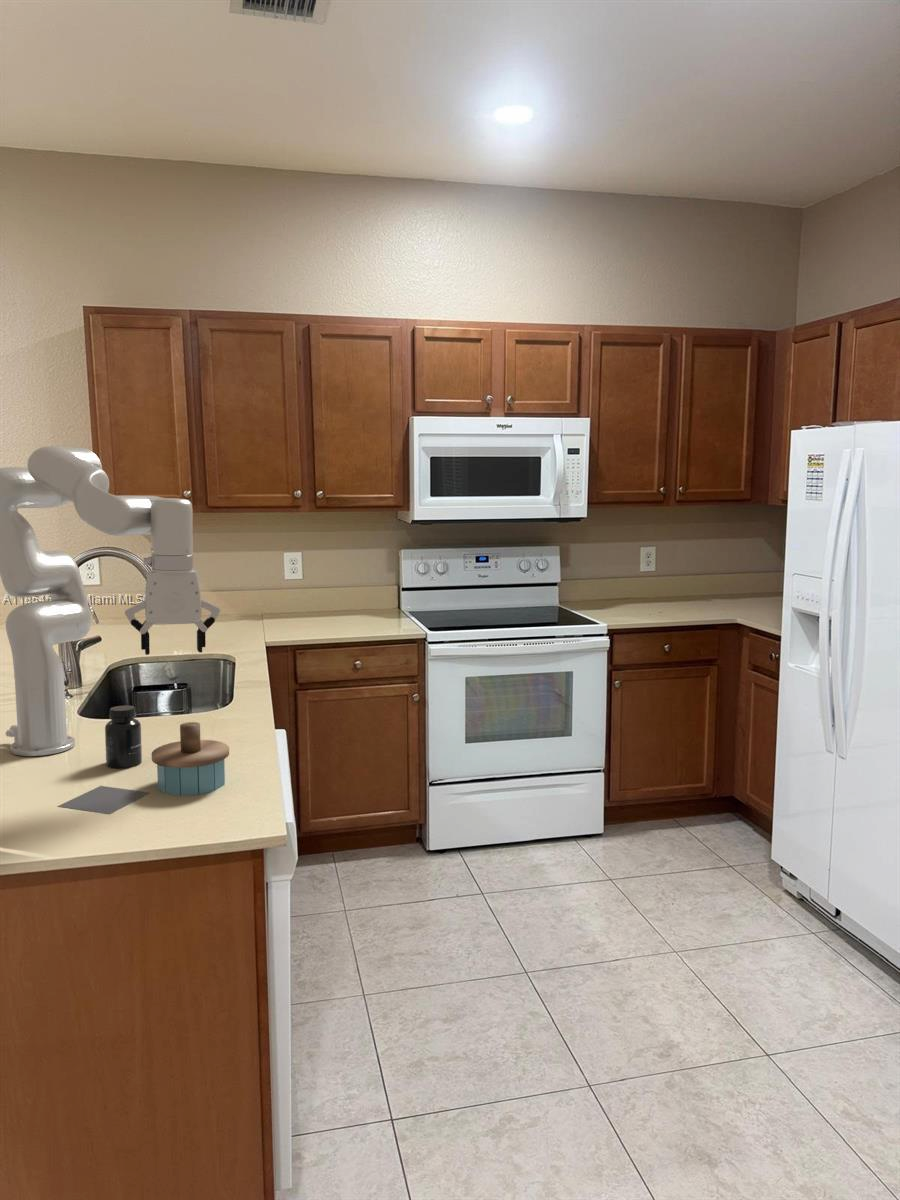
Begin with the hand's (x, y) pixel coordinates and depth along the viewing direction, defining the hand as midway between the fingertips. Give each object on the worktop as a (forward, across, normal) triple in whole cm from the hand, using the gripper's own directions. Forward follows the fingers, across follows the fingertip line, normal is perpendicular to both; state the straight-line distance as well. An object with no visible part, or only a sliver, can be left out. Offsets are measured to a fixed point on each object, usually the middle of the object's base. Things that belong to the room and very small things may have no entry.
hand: (173, 652), depth 165 cm
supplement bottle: (+25, -9, +10) cm, 28 cm away
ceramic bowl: (+24, +2, -8) cm, 26 cm away
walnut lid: (+18, +2, -8) cm, 20 cm away
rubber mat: (+25, -13, -11) cm, 30 cm away
